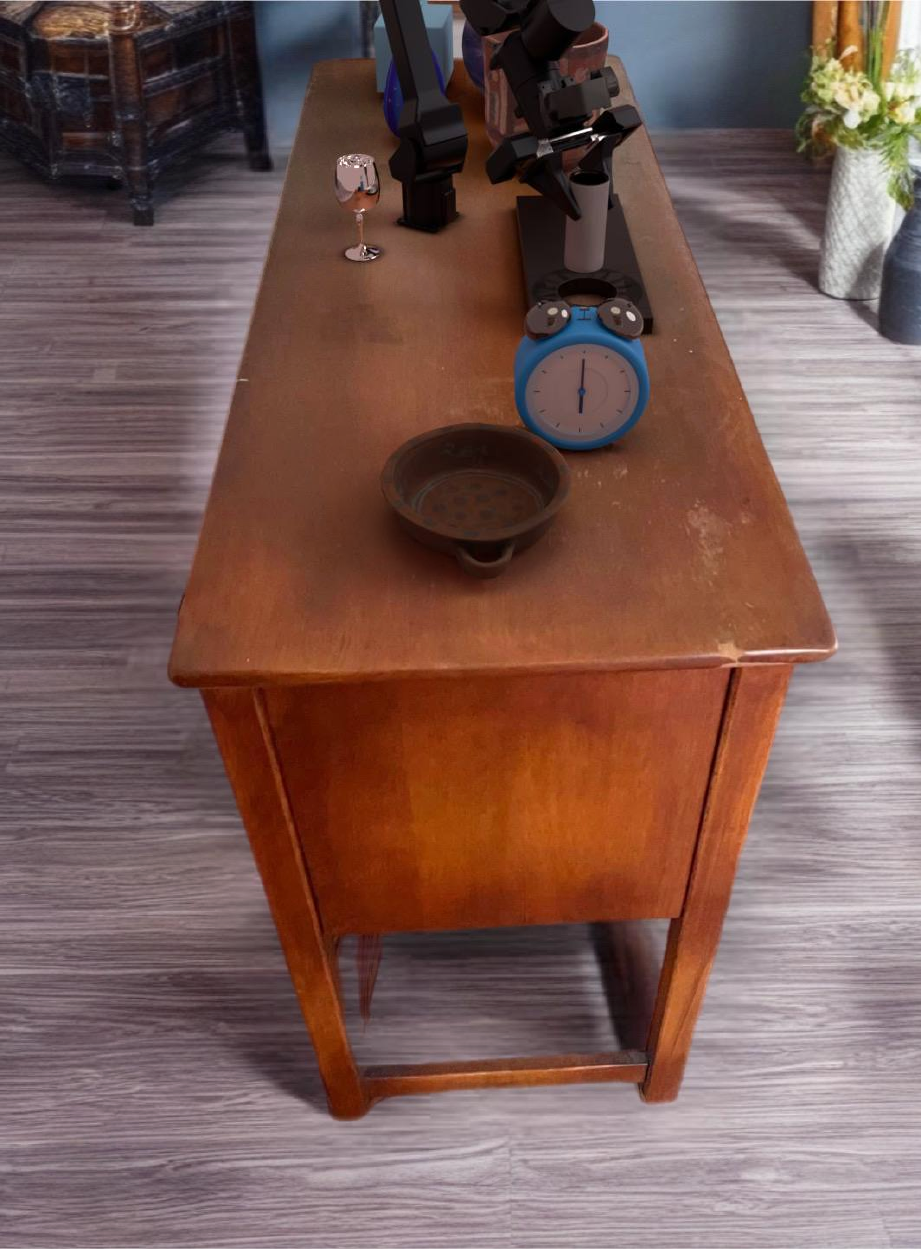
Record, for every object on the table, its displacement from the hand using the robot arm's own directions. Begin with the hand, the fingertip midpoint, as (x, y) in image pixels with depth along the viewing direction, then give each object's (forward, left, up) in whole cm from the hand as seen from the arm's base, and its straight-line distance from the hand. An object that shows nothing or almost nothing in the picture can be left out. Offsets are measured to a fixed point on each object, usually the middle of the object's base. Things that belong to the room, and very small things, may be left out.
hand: (594, 214), depth 133 cm
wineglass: (-33, +1, -12) cm, 35 cm away
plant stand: (-7, +11, -12) cm, 18 cm away
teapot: (-62, +59, -12) cm, 87 cm away
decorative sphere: (-41, +59, -12) cm, 73 cm away
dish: (+9, -41, -12) cm, 44 cm away
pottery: (-28, +41, -12) cm, 51 cm away
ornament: (-49, +39, -12) cm, 64 cm away
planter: (-1, +1, -7) cm, 7 cm away
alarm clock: (+11, -24, -12) cm, 29 cm away
